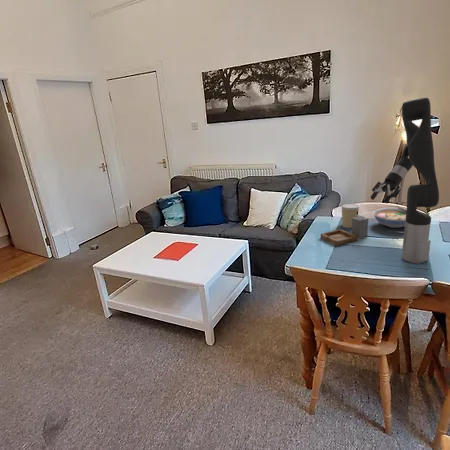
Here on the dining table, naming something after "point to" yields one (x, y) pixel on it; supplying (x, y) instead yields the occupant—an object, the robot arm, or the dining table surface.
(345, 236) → the tray
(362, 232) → the grey rectangular block
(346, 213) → the coffee cup
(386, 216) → the ramen bowl
